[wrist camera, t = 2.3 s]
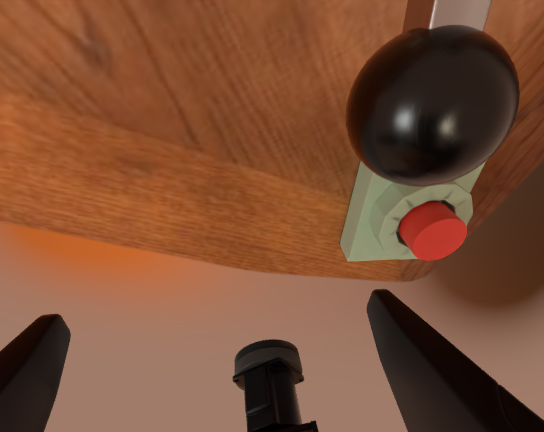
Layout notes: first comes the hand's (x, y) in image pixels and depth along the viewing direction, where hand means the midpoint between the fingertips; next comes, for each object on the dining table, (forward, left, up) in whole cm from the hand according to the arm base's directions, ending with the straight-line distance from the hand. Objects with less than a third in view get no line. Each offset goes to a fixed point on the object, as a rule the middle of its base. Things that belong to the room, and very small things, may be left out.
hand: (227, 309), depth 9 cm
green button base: (-11, -9, -13) cm, 20 cm away
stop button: (-11, -9, -10) cm, 17 cm away
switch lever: (+11, -12, -4) cm, 16 cm away
